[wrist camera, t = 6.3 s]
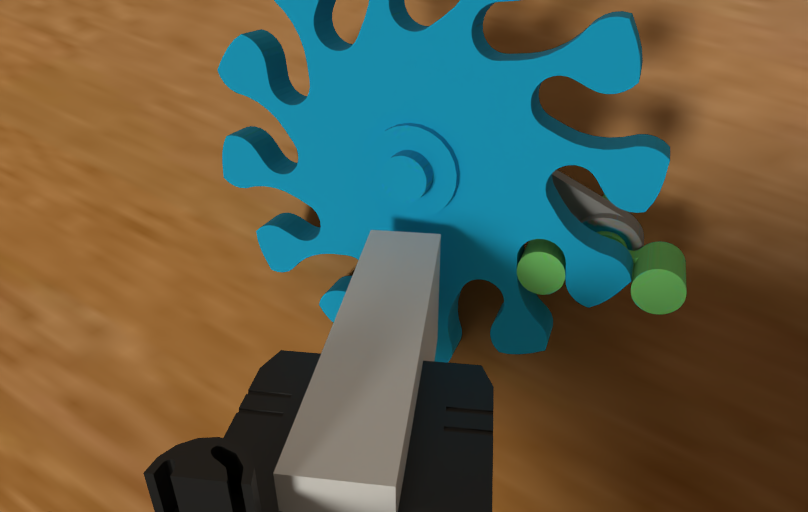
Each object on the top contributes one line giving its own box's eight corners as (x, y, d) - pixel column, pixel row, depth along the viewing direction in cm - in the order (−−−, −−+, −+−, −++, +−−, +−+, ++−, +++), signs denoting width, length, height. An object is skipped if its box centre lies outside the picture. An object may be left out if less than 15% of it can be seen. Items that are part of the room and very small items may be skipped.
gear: (162, 233, 16) (268, -214, 10) (283, 162, 21) (399, -170, 15) (532, 474, 15) (873, 123, 9) (568, 340, 20) (806, 56, 14)
